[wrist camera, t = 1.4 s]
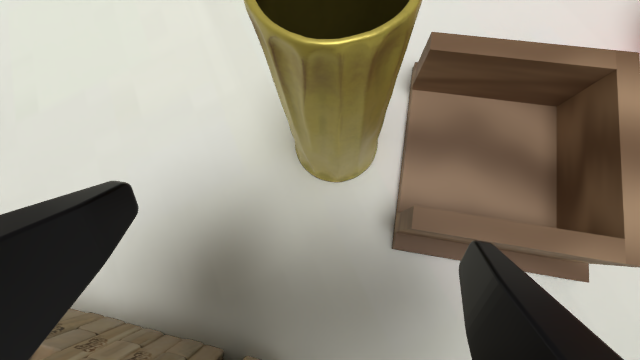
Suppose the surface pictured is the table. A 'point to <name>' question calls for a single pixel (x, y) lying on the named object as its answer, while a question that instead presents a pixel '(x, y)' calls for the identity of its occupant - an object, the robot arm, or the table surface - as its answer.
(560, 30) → the table surface
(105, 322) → the block tower
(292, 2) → the vase
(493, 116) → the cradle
